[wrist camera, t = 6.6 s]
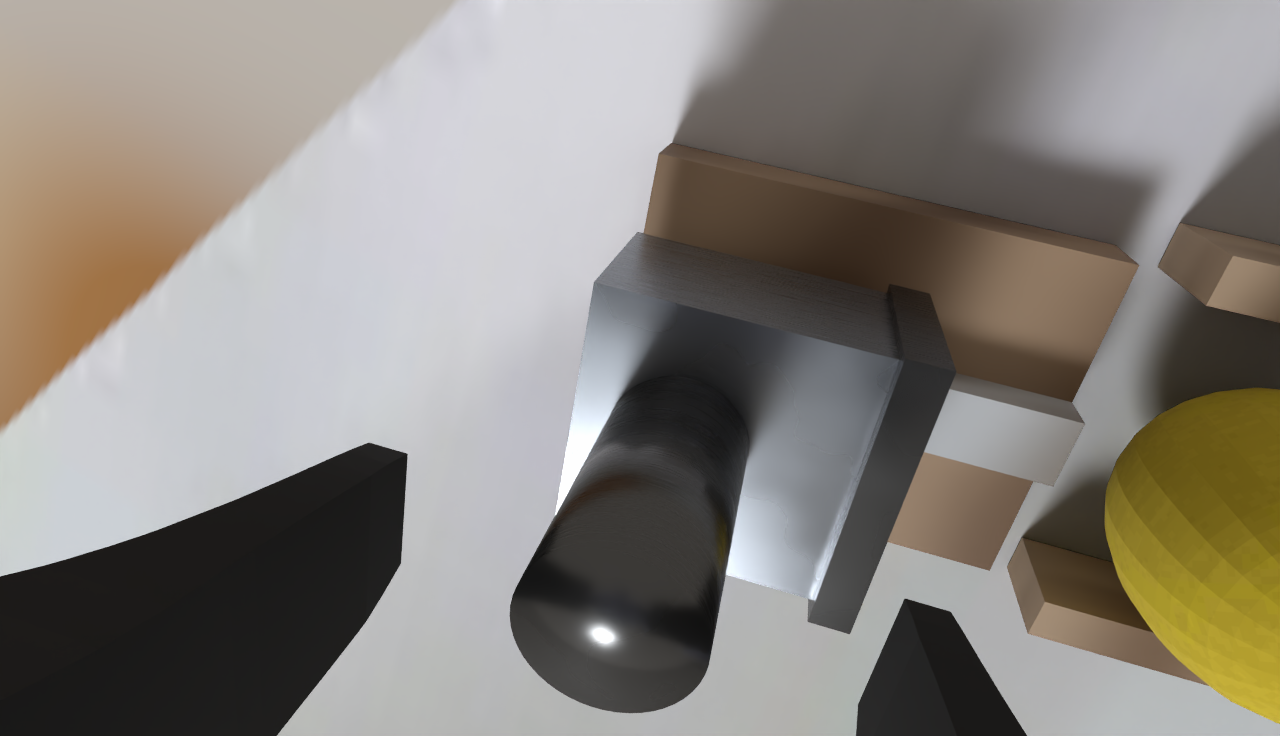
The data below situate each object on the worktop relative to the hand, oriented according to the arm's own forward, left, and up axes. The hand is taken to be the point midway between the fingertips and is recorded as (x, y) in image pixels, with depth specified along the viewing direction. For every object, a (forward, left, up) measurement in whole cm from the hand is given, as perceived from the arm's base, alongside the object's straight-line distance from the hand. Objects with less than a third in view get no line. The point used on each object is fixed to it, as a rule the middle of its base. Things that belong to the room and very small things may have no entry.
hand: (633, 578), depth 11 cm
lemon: (-11, 0, -10) cm, 15 cm away
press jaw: (-1, 0, -7) cm, 7 cm away
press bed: (-3, 0, -10) cm, 10 cm away
